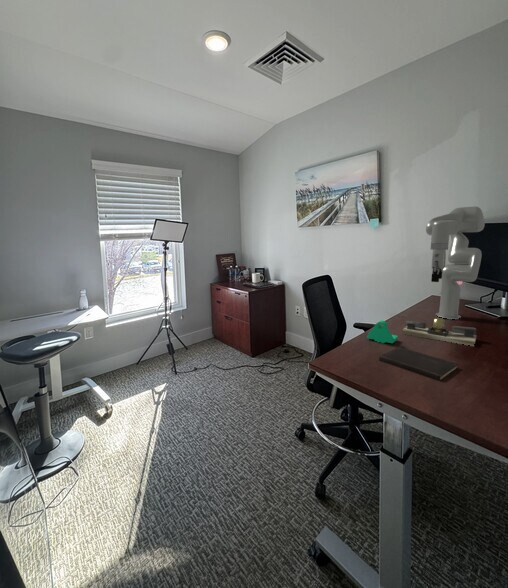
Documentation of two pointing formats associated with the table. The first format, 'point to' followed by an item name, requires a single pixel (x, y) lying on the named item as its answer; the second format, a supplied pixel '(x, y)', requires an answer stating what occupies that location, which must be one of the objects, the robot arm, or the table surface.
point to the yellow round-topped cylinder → (438, 324)
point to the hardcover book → (419, 363)
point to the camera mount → (381, 333)
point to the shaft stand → (441, 333)
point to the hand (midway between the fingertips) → (436, 280)
